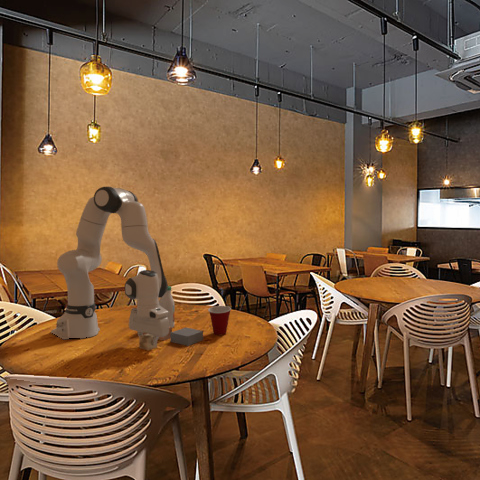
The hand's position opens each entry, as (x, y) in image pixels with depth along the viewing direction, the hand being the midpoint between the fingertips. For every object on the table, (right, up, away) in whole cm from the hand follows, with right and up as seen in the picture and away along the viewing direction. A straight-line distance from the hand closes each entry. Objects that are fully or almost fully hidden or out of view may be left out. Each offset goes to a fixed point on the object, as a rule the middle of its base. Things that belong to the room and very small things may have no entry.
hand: (148, 343), depth 162 cm
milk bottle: (+2, 0, +31) cm, 31 cm away
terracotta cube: (+4, -1, +13) cm, 14 cm away
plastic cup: (+28, -1, +21) cm, 35 cm away
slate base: (+15, -1, +9) cm, 17 cm away
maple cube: (0, -2, 0) cm, 2 cm away
